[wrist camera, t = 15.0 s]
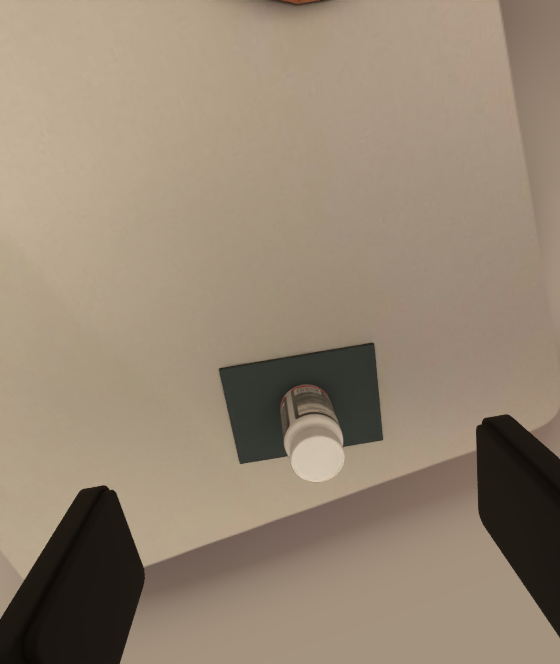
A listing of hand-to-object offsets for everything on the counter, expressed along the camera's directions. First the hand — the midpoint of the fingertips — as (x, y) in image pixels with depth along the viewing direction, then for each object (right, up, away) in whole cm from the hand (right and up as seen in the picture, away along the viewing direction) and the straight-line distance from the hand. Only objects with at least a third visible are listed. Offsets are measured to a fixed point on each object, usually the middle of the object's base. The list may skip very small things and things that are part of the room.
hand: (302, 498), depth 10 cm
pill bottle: (+2, -3, +28) cm, 28 cm away
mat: (+2, -3, +28) cm, 28 cm away
